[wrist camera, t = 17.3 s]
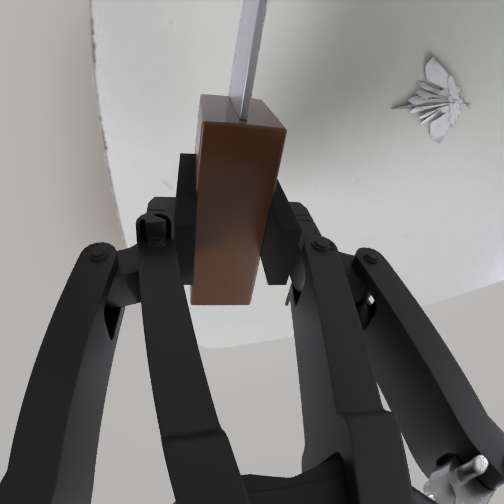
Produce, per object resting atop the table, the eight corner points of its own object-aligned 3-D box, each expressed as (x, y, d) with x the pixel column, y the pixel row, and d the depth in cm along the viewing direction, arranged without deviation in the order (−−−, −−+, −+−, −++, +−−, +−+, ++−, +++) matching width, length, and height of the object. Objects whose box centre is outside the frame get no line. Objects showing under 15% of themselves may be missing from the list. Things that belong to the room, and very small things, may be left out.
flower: (387, 147, 25) (399, 161, 23) (375, 58, 20) (389, 64, 18) (458, 136, 23) (474, 149, 21) (455, 53, 18) (473, 59, 16)
